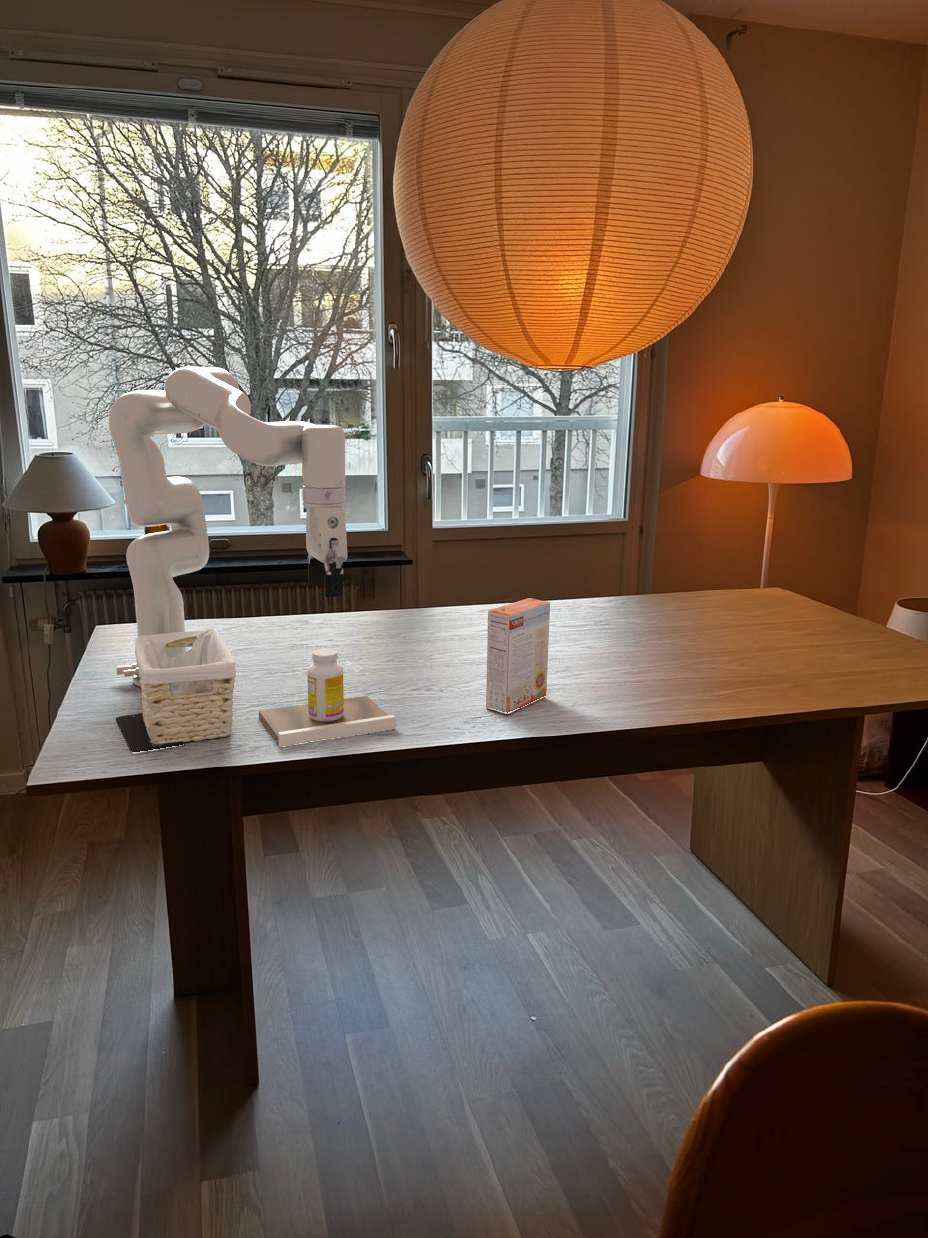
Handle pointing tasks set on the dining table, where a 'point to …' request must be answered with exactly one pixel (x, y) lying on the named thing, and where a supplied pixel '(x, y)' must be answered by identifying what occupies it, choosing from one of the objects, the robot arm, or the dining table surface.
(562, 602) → the dining table surface
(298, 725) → the shelf board
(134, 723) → the cell phone
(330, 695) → the supplement bottle
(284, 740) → the rail
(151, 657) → the storage basket
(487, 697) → the cracker box
